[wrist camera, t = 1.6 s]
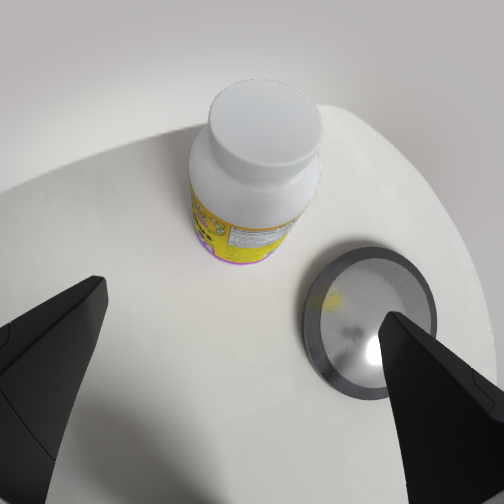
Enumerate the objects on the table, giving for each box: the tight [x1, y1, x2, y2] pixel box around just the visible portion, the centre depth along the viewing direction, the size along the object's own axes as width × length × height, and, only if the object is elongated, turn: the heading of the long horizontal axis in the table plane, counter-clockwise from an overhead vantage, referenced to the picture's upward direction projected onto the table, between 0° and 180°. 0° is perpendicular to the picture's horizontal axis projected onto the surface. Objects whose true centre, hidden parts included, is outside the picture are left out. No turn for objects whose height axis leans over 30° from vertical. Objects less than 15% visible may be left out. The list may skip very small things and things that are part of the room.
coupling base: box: [302, 247, 437, 400], centre depth 22 cm, size 12×12×1 cm
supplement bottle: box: [188, 79, 323, 266], centre depth 18 cm, size 7×7×13 cm
